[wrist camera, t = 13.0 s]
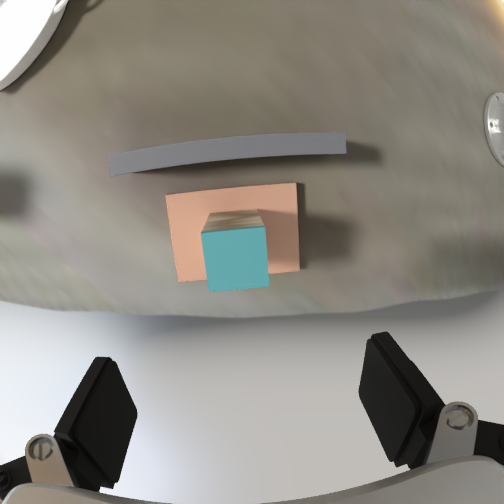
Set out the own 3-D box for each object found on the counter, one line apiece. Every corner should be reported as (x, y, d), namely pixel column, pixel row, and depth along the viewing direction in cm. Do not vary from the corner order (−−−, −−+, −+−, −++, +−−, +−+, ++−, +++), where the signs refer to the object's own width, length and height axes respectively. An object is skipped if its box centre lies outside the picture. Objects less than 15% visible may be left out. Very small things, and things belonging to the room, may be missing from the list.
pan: (-17, 5, 17) (-29, 0, 13) (103, -55, 18) (94, -67, 15) (-43, 121, 24) (-58, 121, 21) (73, 71, 26) (57, 64, 22)
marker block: (256, 208, 31) (265, 227, 23) (260, 253, 33) (269, 286, 24) (209, 213, 31) (200, 233, 23) (215, 257, 33) (208, 291, 24)
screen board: (326, 137, 30) (345, 132, 25) (327, 154, 31) (346, 153, 25) (129, 155, 30) (108, 155, 24) (131, 173, 30) (110, 176, 25)
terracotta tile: (294, 182, 32) (296, 183, 31) (297, 267, 35) (299, 270, 34) (167, 194, 31) (165, 195, 30) (180, 278, 34) (178, 281, 33)
